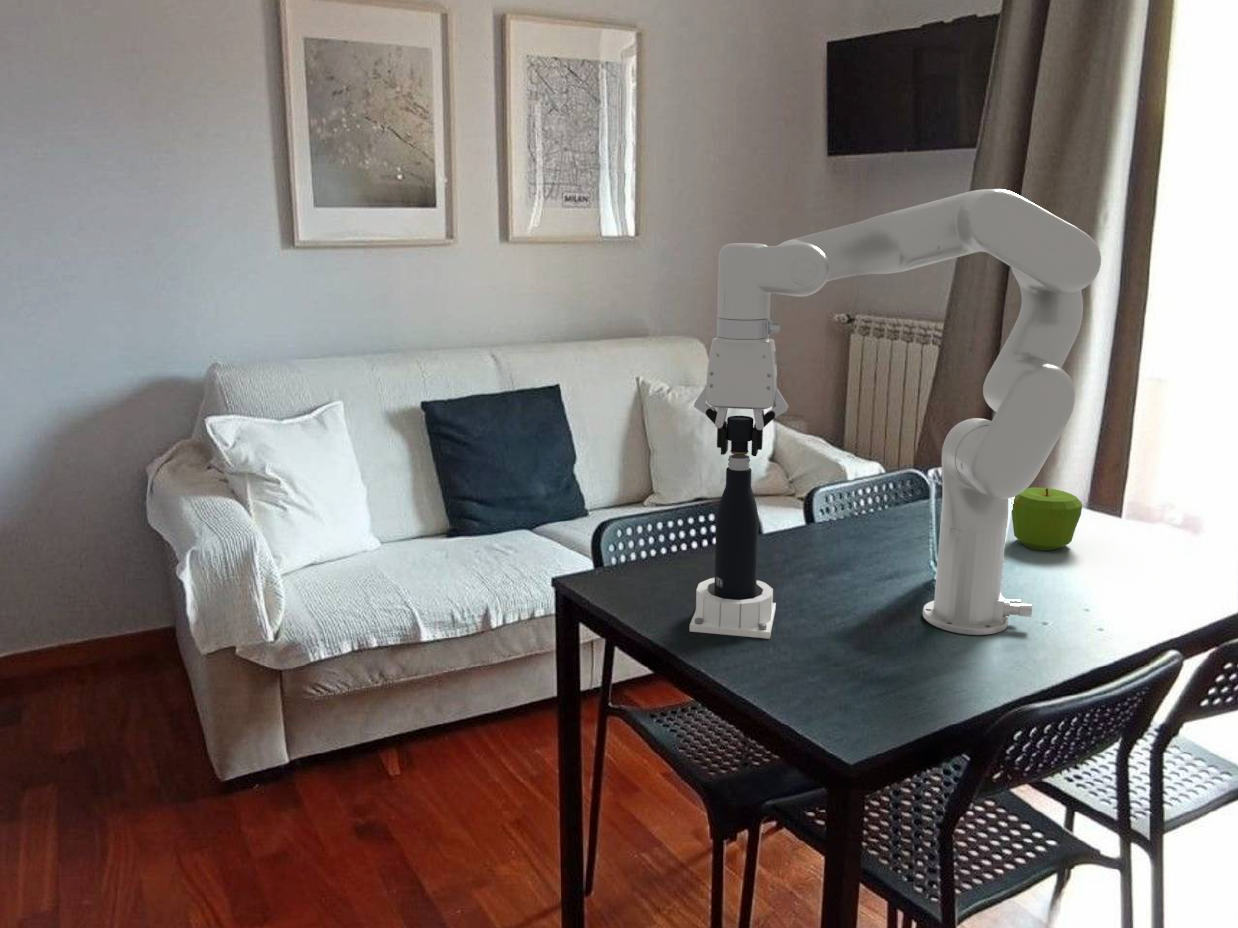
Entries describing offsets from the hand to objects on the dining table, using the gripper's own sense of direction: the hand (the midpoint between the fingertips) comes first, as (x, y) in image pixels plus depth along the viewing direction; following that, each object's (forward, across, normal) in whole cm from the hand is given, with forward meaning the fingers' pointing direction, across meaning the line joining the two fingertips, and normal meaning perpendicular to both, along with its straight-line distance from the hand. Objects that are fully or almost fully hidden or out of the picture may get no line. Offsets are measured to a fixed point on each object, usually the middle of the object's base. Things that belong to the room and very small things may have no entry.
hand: (739, 452), depth 153 cm
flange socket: (+27, 0, 0) cm, 27 cm away
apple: (+27, -53, -50) cm, 78 cm away
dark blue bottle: (+25, 0, 0) cm, 25 cm away
